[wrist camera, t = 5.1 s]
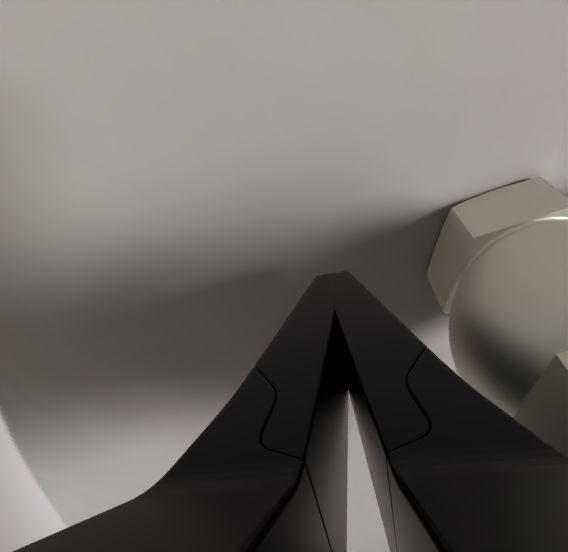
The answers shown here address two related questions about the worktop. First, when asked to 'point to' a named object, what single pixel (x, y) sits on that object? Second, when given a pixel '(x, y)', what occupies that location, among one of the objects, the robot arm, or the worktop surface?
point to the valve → (510, 301)
